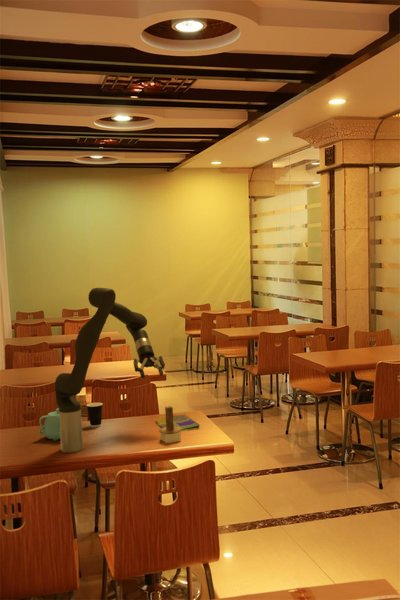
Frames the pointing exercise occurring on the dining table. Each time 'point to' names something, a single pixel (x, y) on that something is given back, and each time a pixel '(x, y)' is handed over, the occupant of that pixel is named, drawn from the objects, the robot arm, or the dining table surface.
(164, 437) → the beige square base
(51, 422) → the decorative pot
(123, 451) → the dining table surface
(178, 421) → the dish towel
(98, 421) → the dixie cup
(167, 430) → the brown post on base
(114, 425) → the dining table surface
